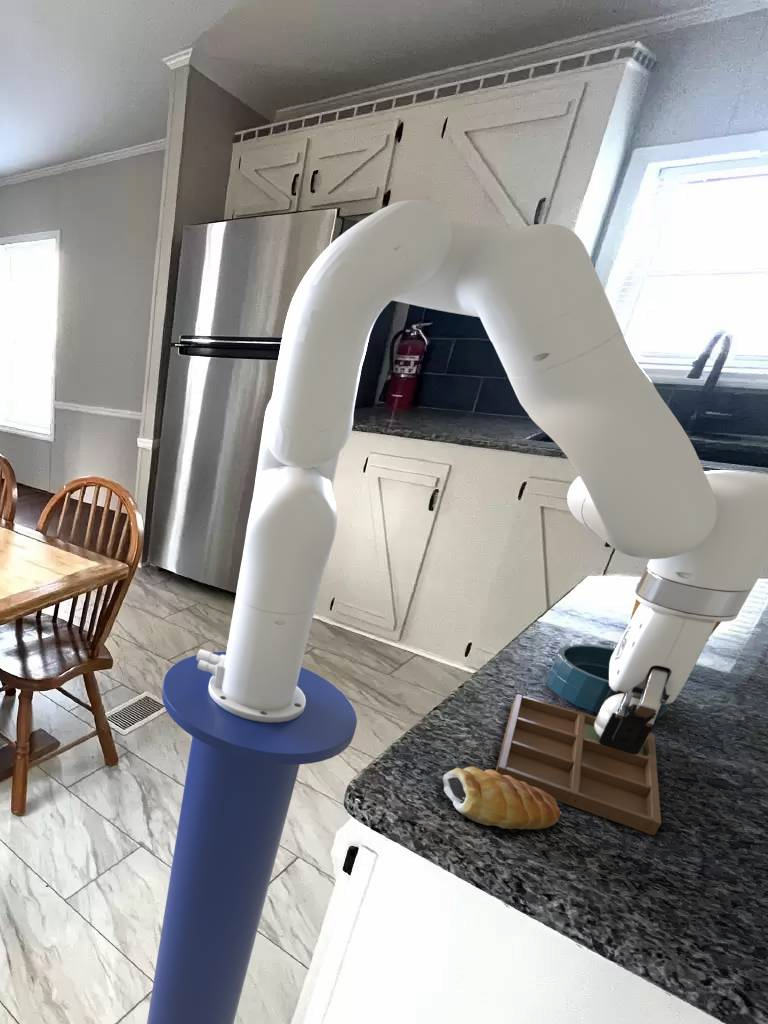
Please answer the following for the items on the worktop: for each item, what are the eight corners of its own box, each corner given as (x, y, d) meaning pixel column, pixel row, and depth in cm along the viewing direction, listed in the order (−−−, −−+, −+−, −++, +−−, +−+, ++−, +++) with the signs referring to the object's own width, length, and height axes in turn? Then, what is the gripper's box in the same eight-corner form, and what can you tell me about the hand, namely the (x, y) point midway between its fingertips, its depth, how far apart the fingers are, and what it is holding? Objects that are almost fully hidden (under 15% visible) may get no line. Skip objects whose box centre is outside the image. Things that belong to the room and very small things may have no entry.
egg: (587, 743, 74) (610, 697, 71) (588, 726, 76) (610, 682, 74) (637, 758, 71) (663, 712, 68) (636, 741, 74) (661, 695, 71)
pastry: (534, 794, 67) (547, 766, 66) (571, 843, 61) (587, 813, 60) (434, 781, 69) (444, 754, 68) (461, 827, 64) (473, 798, 62)
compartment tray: (493, 778, 70) (498, 766, 69) (512, 703, 82) (516, 693, 81) (654, 835, 62) (661, 823, 61) (648, 744, 74) (654, 733, 73)
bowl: (541, 701, 82) (555, 668, 80) (547, 666, 90) (561, 635, 87) (663, 736, 75) (682, 701, 73) (659, 695, 83) (676, 663, 80)
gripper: (637, 560, 73) (577, 688, 81) (640, 611, 62) (570, 755, 70) (733, 576, 69) (660, 711, 76) (755, 635, 57) (667, 786, 65)
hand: (617, 731), depth 73 cm, fingers open, 6 cm apart
